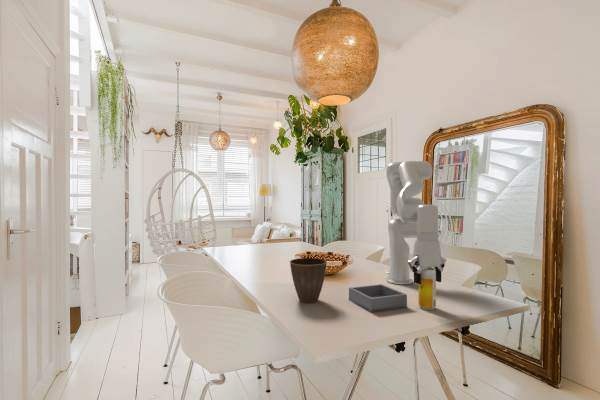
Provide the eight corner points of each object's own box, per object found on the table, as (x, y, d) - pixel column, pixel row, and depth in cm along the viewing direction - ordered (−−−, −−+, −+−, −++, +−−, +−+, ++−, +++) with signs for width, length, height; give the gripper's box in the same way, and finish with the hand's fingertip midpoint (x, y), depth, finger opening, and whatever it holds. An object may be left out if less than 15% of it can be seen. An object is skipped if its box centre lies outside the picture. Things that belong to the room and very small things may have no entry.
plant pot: (304, 309, 119) (304, 266, 119) (282, 299, 131) (282, 260, 131) (334, 301, 128) (334, 262, 128) (311, 293, 140) (311, 256, 140)
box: (348, 299, 131) (348, 287, 131) (381, 295, 136) (381, 284, 136) (371, 312, 116) (371, 298, 116) (406, 307, 122) (406, 294, 122)
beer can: (421, 304, 126) (421, 266, 126) (437, 307, 122) (437, 268, 122) (416, 308, 121) (416, 268, 121) (432, 311, 117) (433, 271, 117)
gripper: (437, 235, 128) (437, 278, 127) (402, 236, 122) (402, 282, 121) (452, 237, 121) (452, 282, 120) (416, 238, 115) (416, 286, 114)
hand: (427, 282), depth 121 cm, fingers open, 9 cm apart
